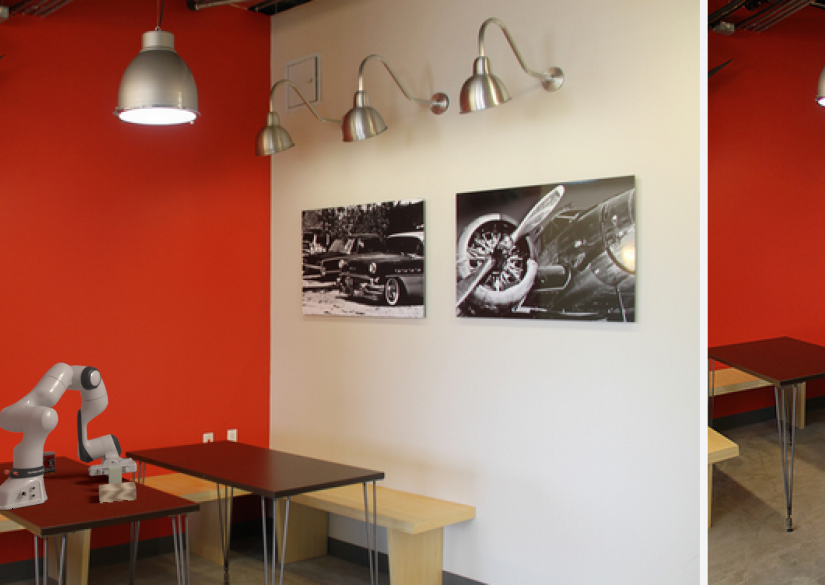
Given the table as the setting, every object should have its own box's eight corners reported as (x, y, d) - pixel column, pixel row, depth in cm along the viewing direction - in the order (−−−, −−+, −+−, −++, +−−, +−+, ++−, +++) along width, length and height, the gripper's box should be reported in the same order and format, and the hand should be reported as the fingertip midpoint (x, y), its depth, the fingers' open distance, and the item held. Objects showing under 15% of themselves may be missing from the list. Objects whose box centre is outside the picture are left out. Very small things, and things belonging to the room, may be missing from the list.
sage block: (109, 492, 342) (109, 468, 342) (108, 490, 346) (108, 466, 347) (121, 491, 344) (121, 467, 344) (121, 488, 348) (120, 465, 349)
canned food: (42, 478, 373) (42, 454, 373) (34, 476, 378) (34, 453, 378) (58, 475, 379) (58, 452, 379) (49, 473, 384) (49, 450, 384)
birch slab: (99, 504, 322) (99, 491, 322) (98, 497, 335) (98, 485, 335) (136, 500, 328) (136, 488, 328) (134, 493, 340) (134, 481, 341)
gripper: (87, 461, 365) (88, 467, 352) (135, 457, 373) (137, 462, 361) (87, 475, 365) (88, 481, 352) (135, 471, 373) (137, 476, 360)
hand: (113, 471), depth 356 cm, fingers open, 8 cm apart
